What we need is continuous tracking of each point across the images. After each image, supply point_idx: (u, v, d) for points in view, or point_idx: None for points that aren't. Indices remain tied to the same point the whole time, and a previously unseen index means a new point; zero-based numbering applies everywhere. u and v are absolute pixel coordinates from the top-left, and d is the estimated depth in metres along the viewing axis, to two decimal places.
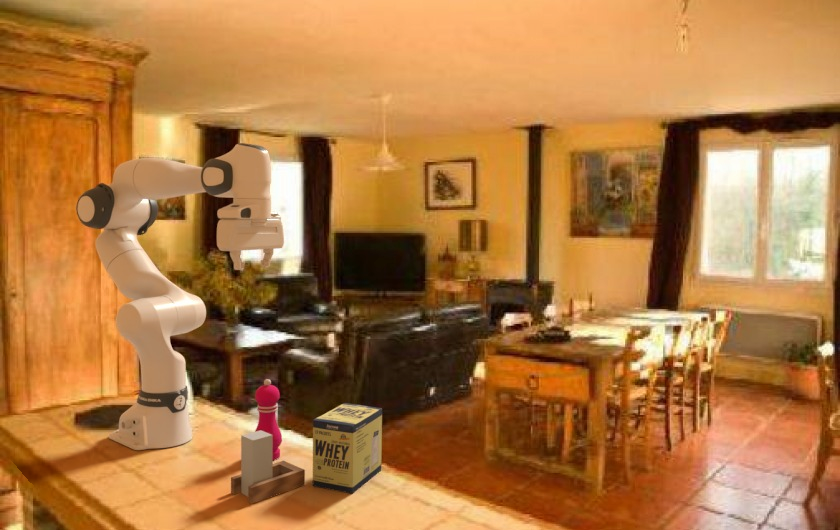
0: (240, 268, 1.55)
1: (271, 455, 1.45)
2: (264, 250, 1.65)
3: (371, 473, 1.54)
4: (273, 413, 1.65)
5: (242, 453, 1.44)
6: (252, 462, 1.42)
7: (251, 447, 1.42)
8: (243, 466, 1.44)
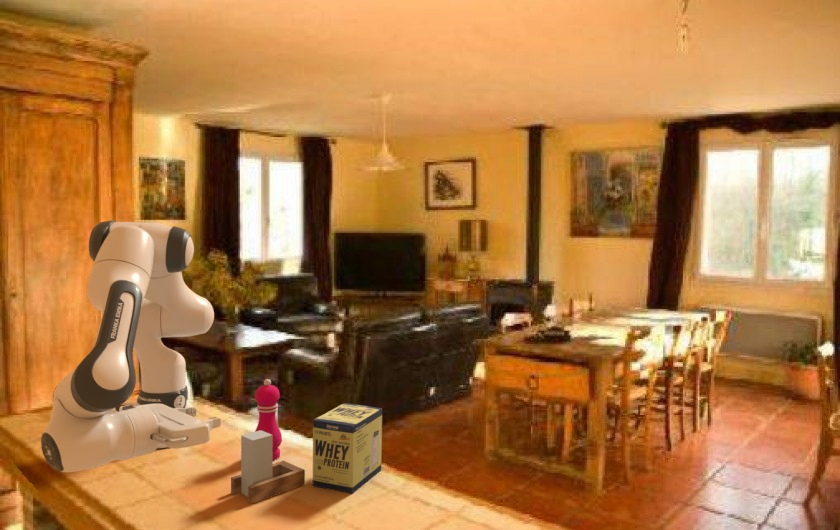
0: None
1: (271, 455, 1.45)
2: None
3: (371, 473, 1.54)
4: (273, 413, 1.65)
5: (242, 453, 1.44)
6: (252, 462, 1.42)
7: (251, 447, 1.42)
8: (243, 466, 1.44)
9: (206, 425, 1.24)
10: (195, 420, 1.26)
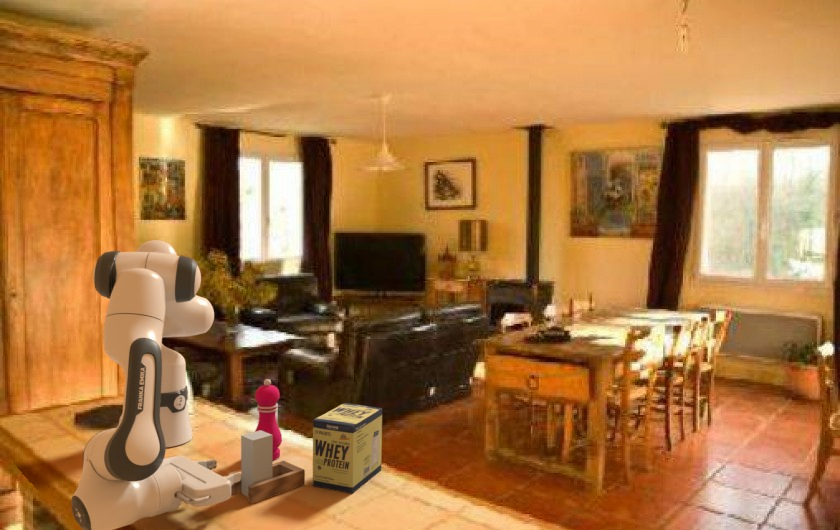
0: None
1: (271, 455, 1.45)
2: None
3: (371, 473, 1.54)
4: (273, 413, 1.65)
5: (242, 453, 1.44)
6: (252, 462, 1.42)
7: (251, 447, 1.42)
8: (243, 466, 1.44)
9: (228, 483, 1.28)
10: (217, 477, 1.31)
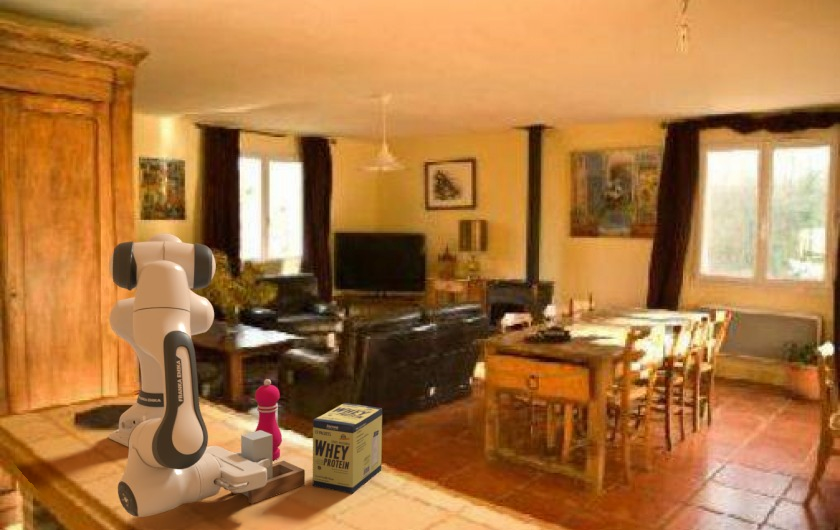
0: None
1: (271, 455, 1.45)
2: None
3: (371, 473, 1.54)
4: (273, 413, 1.65)
5: (242, 453, 1.44)
6: None
7: (251, 447, 1.42)
8: None
9: (264, 471, 1.34)
10: (253, 465, 1.37)
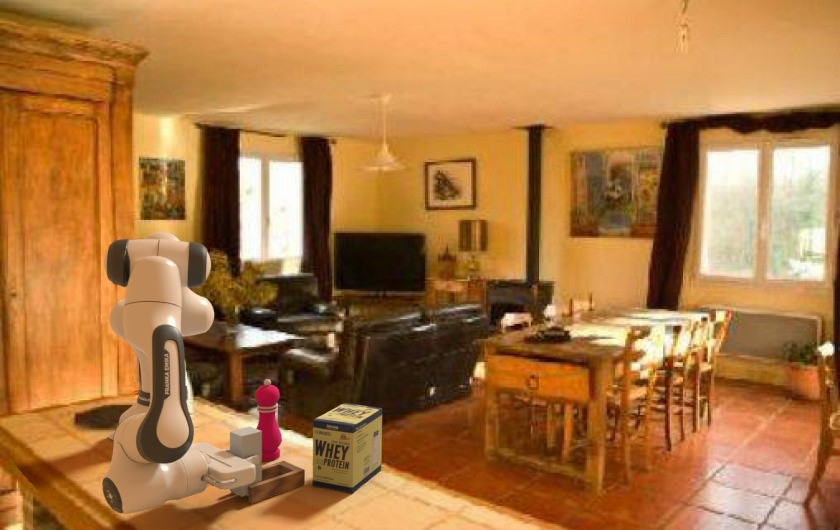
0: None
1: (260, 451, 1.43)
2: None
3: (371, 473, 1.54)
4: (273, 413, 1.65)
5: (231, 450, 1.42)
6: (241, 458, 1.39)
7: (240, 443, 1.39)
8: None
9: (252, 467, 1.32)
10: (242, 461, 1.34)
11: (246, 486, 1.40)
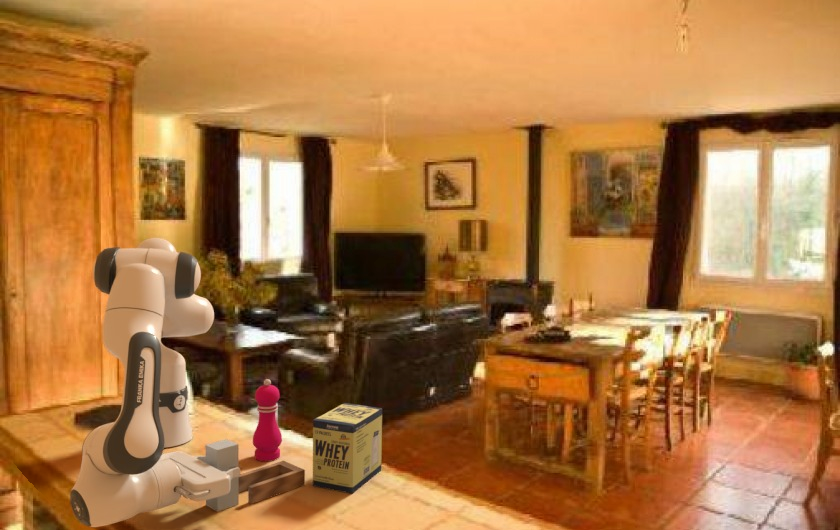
0: None
1: (237, 465, 1.39)
2: None
3: (371, 473, 1.54)
4: (273, 413, 1.65)
5: (207, 463, 1.38)
6: None
7: (215, 457, 1.35)
8: None
9: (227, 478, 1.28)
10: (217, 472, 1.30)
11: (222, 501, 1.37)
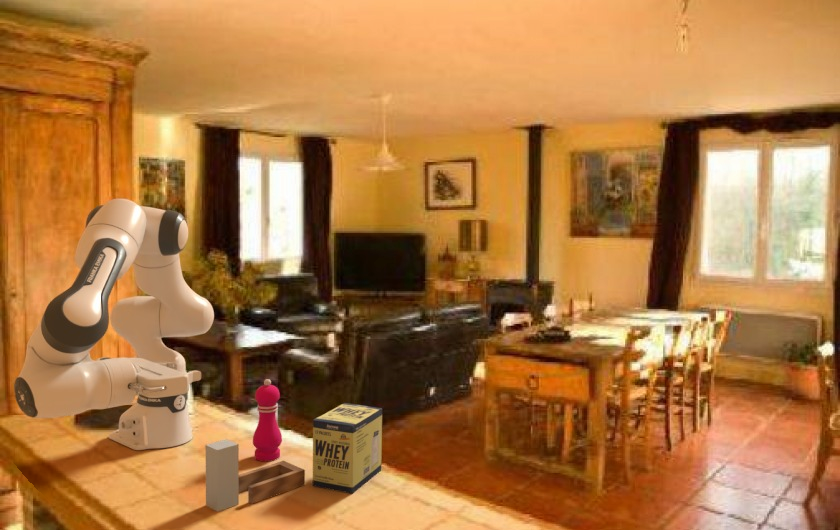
0: None
1: (237, 465, 1.39)
2: None
3: (371, 473, 1.54)
4: (273, 413, 1.65)
5: (207, 463, 1.38)
6: (216, 473, 1.35)
7: (215, 457, 1.35)
8: (208, 477, 1.38)
9: (185, 376, 1.21)
10: (175, 371, 1.23)
11: (222, 501, 1.37)
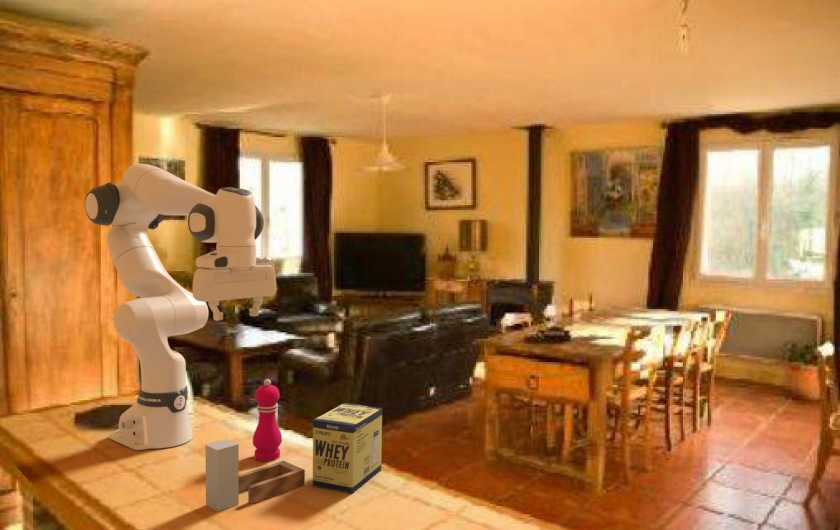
0: (219, 318, 1.49)
1: (237, 465, 1.39)
2: (254, 298, 1.57)
3: (371, 473, 1.54)
4: (273, 413, 1.65)
5: (207, 463, 1.38)
6: (216, 473, 1.35)
7: (215, 457, 1.35)
8: (208, 477, 1.38)
9: None
10: None
11: (222, 501, 1.37)
